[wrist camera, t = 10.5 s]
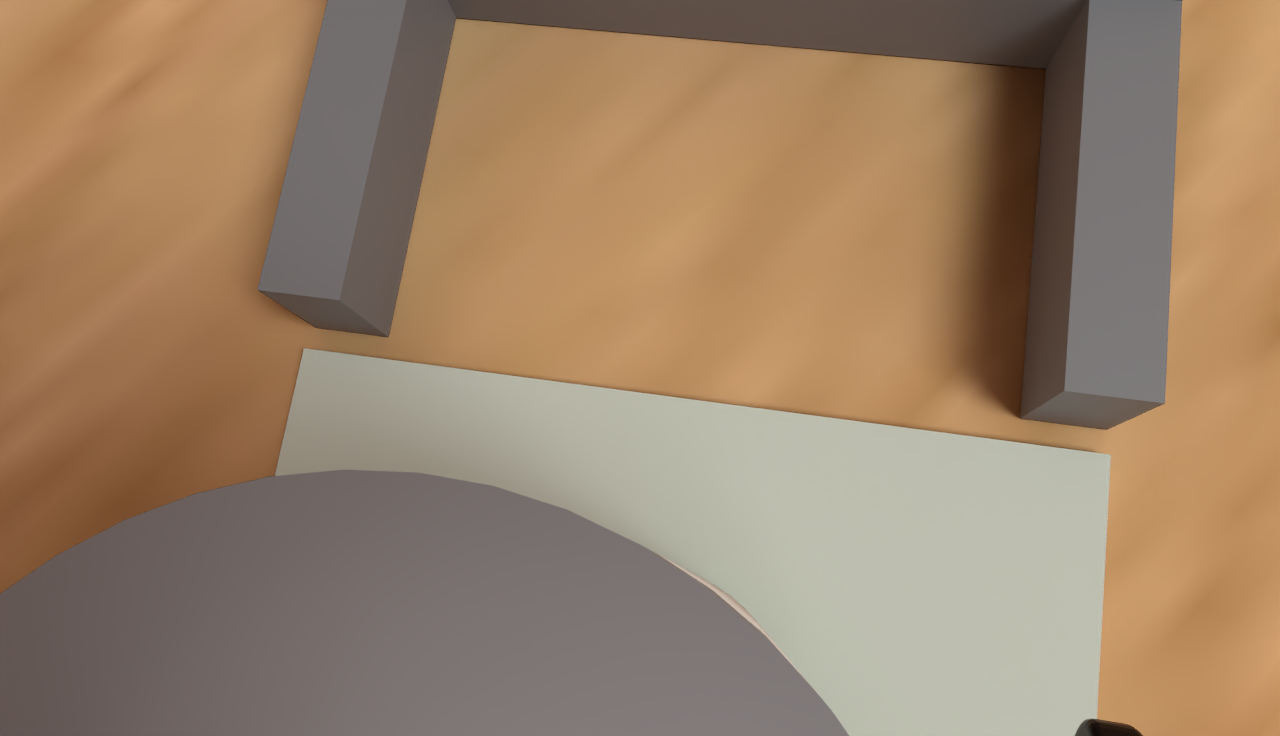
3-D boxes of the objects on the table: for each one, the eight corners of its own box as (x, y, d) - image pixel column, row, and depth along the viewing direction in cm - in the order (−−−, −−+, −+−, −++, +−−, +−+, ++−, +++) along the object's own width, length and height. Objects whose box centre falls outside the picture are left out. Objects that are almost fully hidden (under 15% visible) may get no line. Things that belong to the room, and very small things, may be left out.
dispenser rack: (1106, 429, 18) (1233, 372, 13) (316, 327, 20) (190, 246, 15) (1129, 6, 20) (1249, -172, 15) (402, -51, 22) (313, -225, 17)
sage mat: (1066, 1155, 16) (1073, 1165, 15) (171, 961, 17) (162, 967, 17) (1104, 456, 18) (1110, 454, 17) (310, 352, 20) (303, 348, 19)
